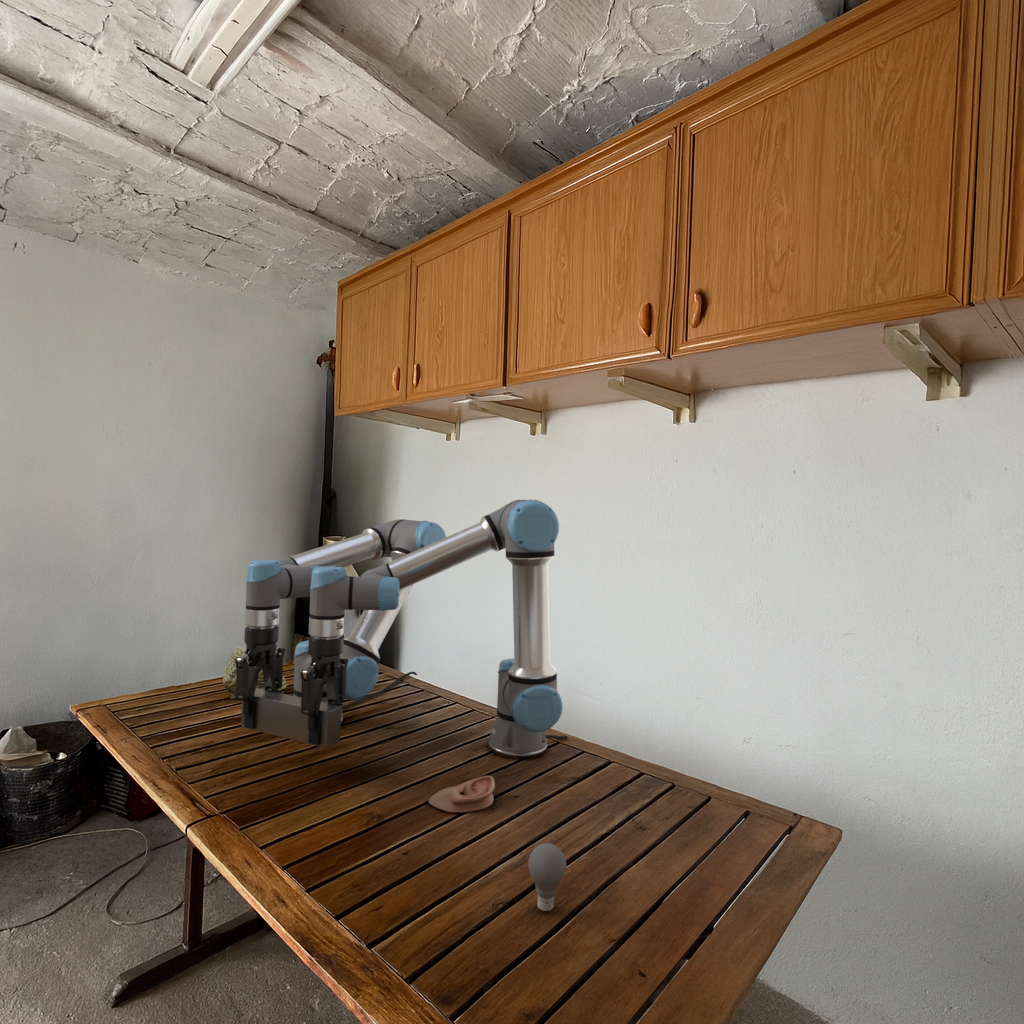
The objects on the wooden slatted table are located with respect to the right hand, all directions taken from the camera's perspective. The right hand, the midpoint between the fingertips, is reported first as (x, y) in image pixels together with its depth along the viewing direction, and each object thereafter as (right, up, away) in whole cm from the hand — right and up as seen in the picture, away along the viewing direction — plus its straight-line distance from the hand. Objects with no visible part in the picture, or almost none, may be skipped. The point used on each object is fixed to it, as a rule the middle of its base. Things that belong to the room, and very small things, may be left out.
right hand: (322, 739), depth 142 cm
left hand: (-17, +1, +8) cm, 19 cm away
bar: (-9, 0, +4) cm, 10 cm away
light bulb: (+48, -12, -42) cm, 65 cm away
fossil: (-38, -6, +56) cm, 68 cm away
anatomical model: (+32, -11, -7) cm, 34 cm away
